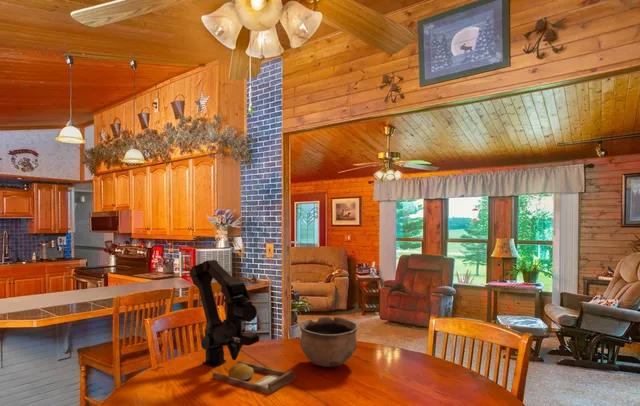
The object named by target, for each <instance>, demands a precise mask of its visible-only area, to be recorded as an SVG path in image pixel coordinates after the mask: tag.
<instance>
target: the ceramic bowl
mask: <svg viewBox="0 0 640 406" xmlns="http://www.w3.org/2000/svg"><path fill="white" fill-rule="evenodd" d="M317 319H318V320H317V321H314V320H311V318H309V319H305V320H303V321H302V322H301V323H300V324H299V328H300V331H301V334H300V348H301V350H302V352H303V353H304V355H305V356H306V358H307V359H308V360H309V361H310V362H312V363H313V364H314V365H316V366H321V367H327V368H329V367H337V366H341V365H343V364H345V363H346V362H347V361H348V360H350V359H351V357H352V356H353V354H355V351H356V350H357V345H358V342H357V341H358V339H357V334H356V332H357V331H358V328H359V326H358V324H357V323H356V322H354V321H352V320H349V319H347V318H343V317H342V318H341V317H337V316H335V317H333V319H332V318H331V317H329V316H322V317H321V316H320V317H318V318H317Z"/></svg>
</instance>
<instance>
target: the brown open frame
mask: <svg viewBox="0 0 640 406" xmlns="http://www.w3.org/2000/svg"><path fill="white" fill-rule="evenodd" d="M239 363H243V364H246V365H247V366H249V367H252V368H253V371H254V372H259V373H263V374H266V376H264V377H262V378H261V379H259V380H258V381H256V382H254V383H253V382H251V381H246V380H240V379H236V378H233V377H230V376H229V375H225V374H221V373H218V372H213V373H212V374H211V375H212V379H214V380H220V381H222V382H225V383H229V384H233V385H237V386H239V387H243V388H246V389H250V390H254V391H256V392H261V393H264V394H267V395H271V394H273V393H275V392H276V391H279V390H280V389H282V388H283V387H285V386H287V385H289V384H290V383H293V381H295V380H296V375H295V370H292V369H290V370H289V371H287V372H286V371H283V370H278V369H275V368H271V367H266V366H262V365H259V364H254V363H252V362H247V361H243V360H238V361H237V364H239Z"/></svg>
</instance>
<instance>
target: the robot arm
mask: <svg viewBox="0 0 640 406" xmlns="http://www.w3.org/2000/svg"><path fill="white" fill-rule="evenodd" d="M189 276H190V278H191V281H192V284H194V285H195V286H196V287H197V288H198V291H199V295H200V299H201V303H202V309H203V312H204V317H205V321H206V325H205V328H204V337H203V338H202V339H201V341H200V345H201V348H202V349H203V350H205V361H202V364H203V365H206V366H210V367H217V366H219V365H222V364H224V363H226V362H227V360H226V359H225V351H224V347H227V348H228V351H229V354H230V356H231V359H232V361H235V360H237V358H238V356H239V354H240V351H241V349H242V347H243V346H246V347H247V346H251V345H254V344H257V343H259V342H260V335H259V334H258V333H257V332H256V333H255V332H252V331H251V332H247V333H245V332H246V330H245V329H244V328H243V322H244V321H245V322H247V323H249V322H252V321H253V320H255V319H256V316H257V313H258V311H257V308H256V306H255V305H253V303H252V302H253V301H252V300H251V297H250V293H249V292H248V289H247V286H246V285H245V283H244V281H243V280H242V279H240V278H239V277H235V276H231V275H230V274H229V273H228V272H227V271H226V270H225V269H224V268H223V267H222V266H221V265H220V264H219V262H218V260H216V259H211V260H210V259H209V260H205V261H203V262H201V263H198V264H197V265H196V264H195V265H192V267H191V268H190V270H189ZM213 279H214V280H215V281H216V282H217V283H218V284H219V286H220V287H221V288H220V291H221V293H222V295H223V296H224V297H225V298H223V303H225V319H223V321H222V320H221V319H220V316H219V312H218V307H217V303H216V300H215V295H214V291H213V288H212V281H213Z"/></svg>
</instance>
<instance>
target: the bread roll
mask: <svg viewBox="0 0 640 406" xmlns="http://www.w3.org/2000/svg"><path fill="white" fill-rule="evenodd" d="M227 373H228V376H229V377H233V378H236V379H240V380H244V381H246V380H249V379H251V378H252V377H253V376H254V373H255V371H254V370H253V368H252V367H249V366H247V365H246V364H243V363H239V364H238V363H236V364H234V365H232V366H231V367H230V368H229V370H228V372H227Z"/></svg>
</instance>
